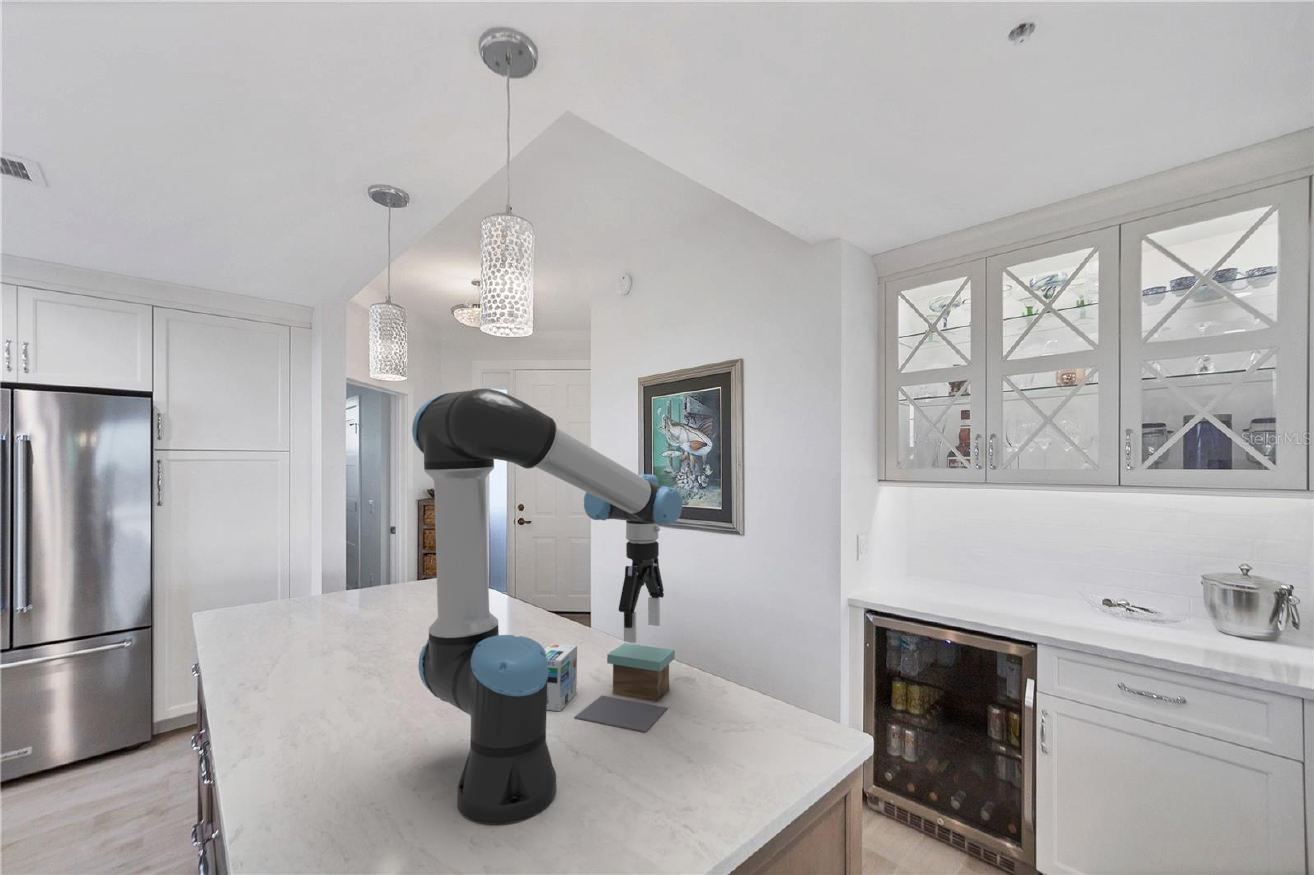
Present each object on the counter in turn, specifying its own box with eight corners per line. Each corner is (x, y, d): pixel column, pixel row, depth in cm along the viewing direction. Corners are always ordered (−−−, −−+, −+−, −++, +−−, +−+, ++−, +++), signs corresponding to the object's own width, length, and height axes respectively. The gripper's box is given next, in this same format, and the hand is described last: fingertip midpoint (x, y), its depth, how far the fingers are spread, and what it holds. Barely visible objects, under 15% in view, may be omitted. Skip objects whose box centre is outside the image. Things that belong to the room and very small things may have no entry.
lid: (660, 676, 126) (660, 662, 126) (607, 667, 131) (607, 654, 131) (674, 663, 134) (674, 650, 134) (624, 655, 139) (624, 643, 139)
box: (657, 701, 127) (657, 669, 127) (612, 693, 131) (613, 662, 131) (668, 690, 133) (669, 659, 134) (626, 683, 138) (626, 653, 138)
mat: (645, 732, 112) (645, 731, 112) (574, 718, 118) (574, 716, 118) (668, 708, 123) (668, 707, 123) (601, 696, 129) (601, 695, 129)
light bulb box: (560, 712, 121) (561, 660, 122) (530, 709, 123) (531, 658, 123) (577, 692, 132) (578, 645, 132) (549, 690, 133) (550, 643, 133)
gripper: (634, 549, 121) (634, 652, 120) (676, 534, 144) (676, 620, 143) (602, 547, 124) (602, 647, 123) (648, 533, 147) (649, 617, 146)
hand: (642, 633), depth 133 cm, fingers open, 13 cm apart
